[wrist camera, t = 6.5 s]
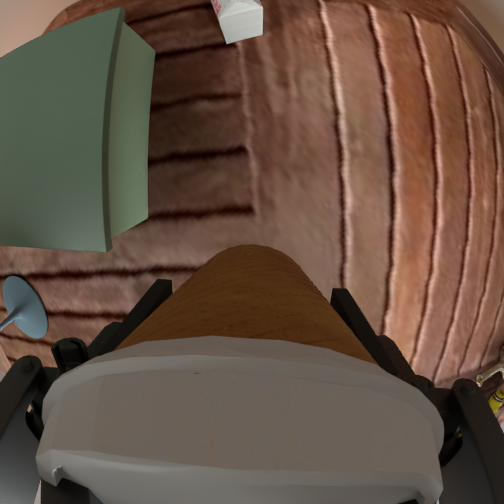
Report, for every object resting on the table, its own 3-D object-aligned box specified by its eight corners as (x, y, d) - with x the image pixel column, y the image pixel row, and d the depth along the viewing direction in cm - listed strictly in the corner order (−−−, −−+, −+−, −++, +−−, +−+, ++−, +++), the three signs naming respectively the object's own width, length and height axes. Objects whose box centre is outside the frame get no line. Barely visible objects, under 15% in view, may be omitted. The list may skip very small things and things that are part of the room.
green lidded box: (153, 222, 28) (106, 252, 19) (38, 221, 28) (-17, 244, 19) (161, 46, 22) (121, 6, 13) (42, 77, 23) (-12, 65, 13)
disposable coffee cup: (134, 249, 14) (-41, 404, 3) (311, 183, 13) (534, 287, 1) (206, 384, 17) (169, 560, 5) (355, 343, 15) (429, 526, 4)
